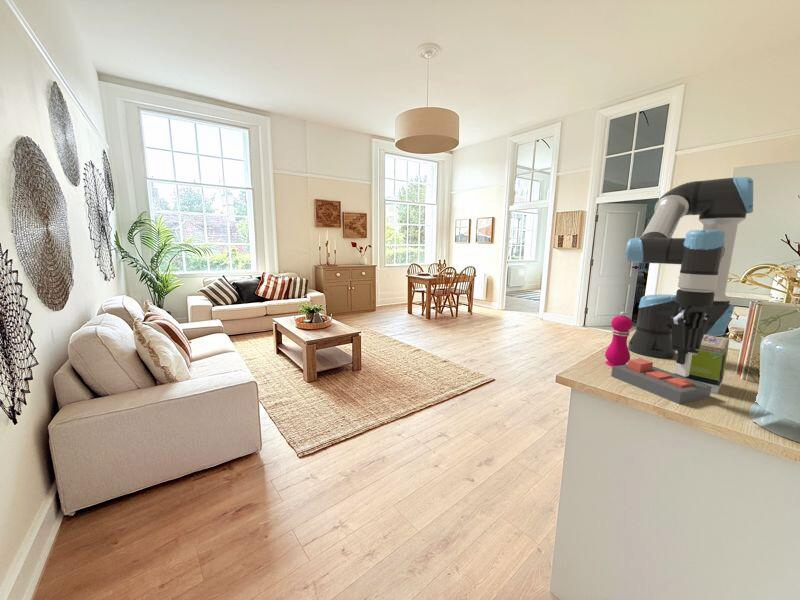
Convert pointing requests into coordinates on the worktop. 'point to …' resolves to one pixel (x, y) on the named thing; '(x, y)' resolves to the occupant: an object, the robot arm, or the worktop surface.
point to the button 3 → (680, 382)
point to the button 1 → (640, 365)
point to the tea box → (709, 362)
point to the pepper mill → (619, 341)
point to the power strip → (662, 385)
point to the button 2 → (659, 375)
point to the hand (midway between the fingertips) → (681, 374)
